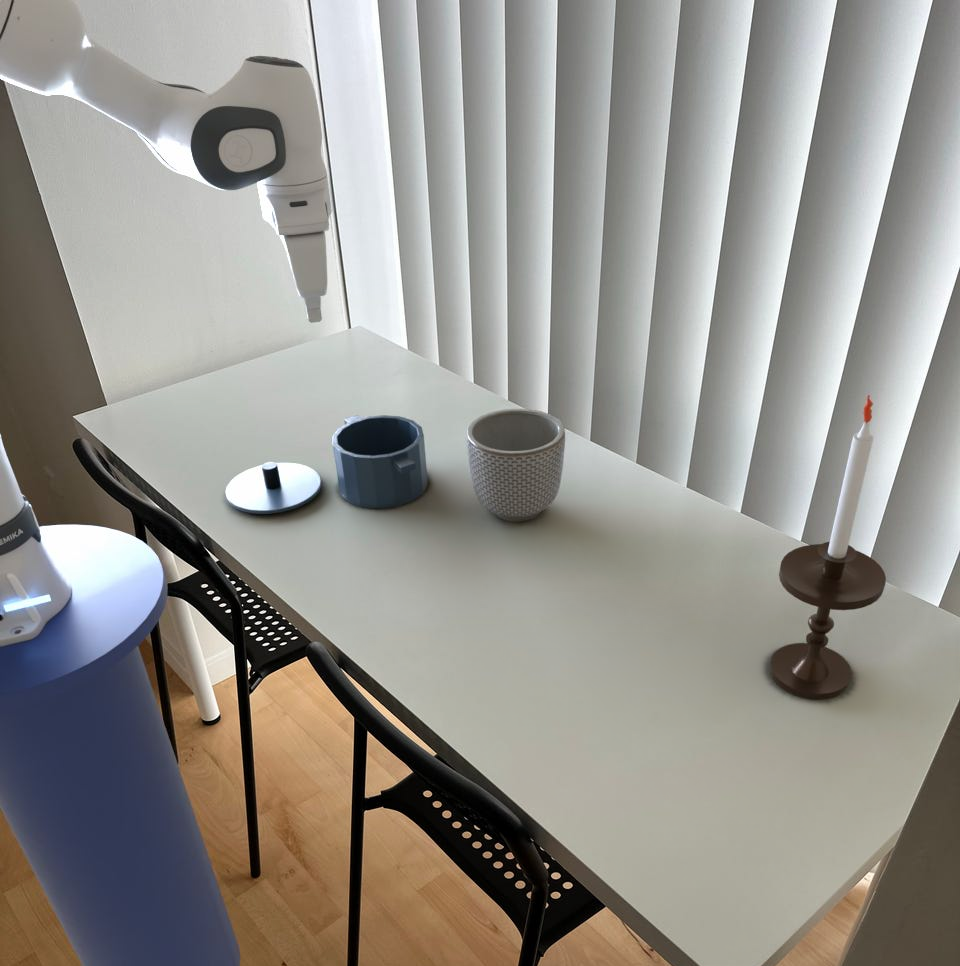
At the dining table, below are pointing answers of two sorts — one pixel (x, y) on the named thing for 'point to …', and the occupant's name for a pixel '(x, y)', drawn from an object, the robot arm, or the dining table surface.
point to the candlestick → (829, 588)
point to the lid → (273, 488)
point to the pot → (380, 461)
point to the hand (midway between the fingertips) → (311, 308)
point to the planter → (516, 461)
